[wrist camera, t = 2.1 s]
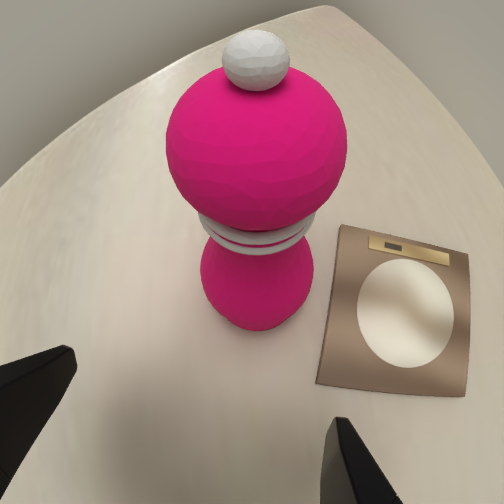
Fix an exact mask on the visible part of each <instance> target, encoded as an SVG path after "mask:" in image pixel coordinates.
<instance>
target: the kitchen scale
mask: <svg viewBox="0 0 504 504" xmlns="http://www.w3.org/2000/svg"><path fill="white" fill-rule="evenodd" d="M469 347H470V274H469V259H468V254H465V253H462V252H458V251H454V250H450V249H446V248H442V247H438V246H434V245H430V244H426V243H422V242H418V241H414V240H410V239H405V238H401V237H397V236H392V235H388V234H384V233H379V232H375V231H370V230H366V229H361V228H357V227H352V226H348V225H343V224H341V226H340V228H339V235H338V244H337V252H336V261H335V268H334V276H333V283H332V290H331V297H330V304H329V310H328V317H327V323H326V329H325V335H324V341H323V346H322V352H321V357H320V363H319V368H318V373H317V378H316V384H322V385H329V386H335V387H342V388H350V389H358V390H366V391H375V392H385V393H396V394H408V395H422V396H442V397H465V392H466V384H467V374H468V362H469Z"/></svg>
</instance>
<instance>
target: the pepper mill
mask: <svg viewBox="0 0 504 504" xmlns="http://www.w3.org/2000/svg"><path fill="white" fill-rule="evenodd" d="M222 65H223V67H221V68H218V69H216V70H213V71H212V72H210V73H208V74H207V75H205V76H203V77H202V78H200V79H199V80H198V81H196V82H195V83H194V84H193V85H192V86H191V87H190V88H189V89H188V90H187V91H186V92H185V93H184V94H183V95H182V96H181V98H180V99H179V101H178V103H177V104H176V106H175V108H174V109H173V112H172V114H171V117H170V120H169V124H168V127H167V132H166V156H167V161H168V166H169V170H170V173H171V175H172V178H173V180H174V182H175V184H176V186H177V188H178V190H179V191H180V193H181V195H182V196H183V197H184V198H185V199H186V200H187V201H188V202H189V203H190V204H191V205H192V206H193V207H194V208H195V209H196V210H197V211H198V215H199V218H200V221H201V223H202V225H203V228H204V229H205V230H206V232H207V233H208V234H209V235H210V238H209V240H208V242H207V244H206V246H205V248H204V251H203V255H202V259H201V266H200V273H201V281H202V285H203V288H204V291H205V293H206V296H207V298H208V300H209V301H210V303H211V304H212V306H213V307H214V308H215V309H216V310H217V311H218V312H219V313H220V314H221V315H223V316H224V317H226V318H227V319H228V320H229V321H230V322H232V323H233V324H235V325H236V326H238V327H240V328H243V329H246V330H252V331H262V330H268V329H271V328H274V327H276V326H278V325H279V324H281V323H282V322H284V321H285V320H286V319H287V318H288V317H290V316H291V315H292V314H294V313H295V312H296V311H297V310H298V309H299V308H300V307H301V306H302V304H303V303H304V301H305V300H306V298H307V296H308V293H309V291H310V288H311V283H312V279H313V271H314V266H313V258H312V254H311V251H310V247H309V244H308V242H307V240H306V238H305V237H304V235H305V234H306V232H307V231H308V230H309V228H310V226H311V224H312V222H313V220H314V217H315V213H316V211H317V210H318V209H319V208H320V207H321V206H322V205H323V204H324V203H325V202H326V201H327V200H328V199H329V197H330V196H331V194H332V193H333V191H334V190H335V188H336V187H337V185H338V182H339V180H340V177H341V175H342V172H343V170H344V167H345V161H346V154H347V133H346V128H345V124H344V121H343V117H342V114H341V111H340V109H339V107H338V106H337V104H336V103H335V101H334V100H333V98H332V96H331V95H330V94H329V93H328V92H327V90H326V89H325V88H324V87H323V86H322V85H321V84H320V83H319V82H317V81H316V80H314V79H313V78H311V77H310V76H308V75H307V74H305V73H303V72H301V71H299V70H296V69H294V68H291V67H289V65H290V57H289V52H288V49H287V48H286V46H285V44H284V43H283V41H282V40H280V39H279V38H278V37H277V36H275V35H274V34H273V33H270V32H266V31H263V30H247V31H245V32H242V33H240V34H238V35H236V36H235V37H233V38H232V39H231V40H230V41H229V43H228V44H227V45H226V47H225V49H224V51H223V57H222Z"/></svg>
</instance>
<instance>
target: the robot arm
mask: <svg viewBox="0 0 504 504" xmlns="http://www.w3.org/2000/svg"><path fill="white" fill-rule="evenodd" d="M76 371H77V362H76V357H75V353H74V350H73V348H71V347H69V346H66V345H60V346H58V347H55V348H52V349H49V350H46V351H43V352H40V353H37V354H34V355H31V356H28V357H25V358H22V359H19V360H16V361H13V362H10V363H7V364H4V365H1V366H0V499H1V498H2V496H3V494H4V492H5V490H6V489H7V487H8V485H9V483H10V482H11V480H12V478H13V476H14V475H15V473H16V471H17V469H18V468H19V466H20V464H21V463H22V461H23V459H24V458H25V456H26V454H27V453H28V451H29V450H30V448H31V446H32V445H33V443H34V442H35V440H36V438H37V437H38V435H39V434H40V432H41V430H42V429H43V427H44V426H45V424H46V423H47V421H48V420H49V418H50V417H51V415H52V414H53V412H54V411H55V409H56V408H57V406H58V404H59V403H60V401H61V399H62V397H63V396H64V394H65V392H66V390H67V388H68V386H69V384H70V382H71V380H72V378H73V377H74V375H75V373H76ZM396 495H397V494H396V492H395V491H394V489H393V488H392V486H391V485H390V483H389V481H388V480H387V478H386V477H385V475H384V474H383V472H382V471H381V469H380V467H379V466H378V464H377V463H376V461H375V460H374V458H373V457H372V455H371V453H370V452H369V450H368V449H367V447H366V446H365V444H364V443H363V441H362V439H361V438H360V436H359V435H358V433H357V432H356V430H355V429H354V427H353V425H352V424H351V422H350V421H349V419H348V418H345V417H335V418H334V419H333V421H332V423H331V425H330V427H329V429H328V431H327V434H326V438H325V447H324V455H323V463H322V470H321V481H320V504H403V503H402V501H401V500H400V498H399V497H398V496H396Z"/></svg>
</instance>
